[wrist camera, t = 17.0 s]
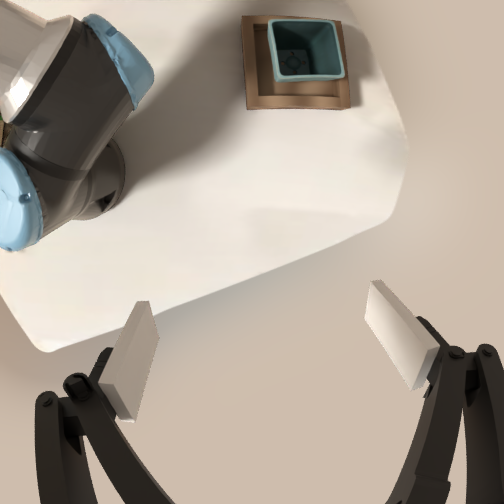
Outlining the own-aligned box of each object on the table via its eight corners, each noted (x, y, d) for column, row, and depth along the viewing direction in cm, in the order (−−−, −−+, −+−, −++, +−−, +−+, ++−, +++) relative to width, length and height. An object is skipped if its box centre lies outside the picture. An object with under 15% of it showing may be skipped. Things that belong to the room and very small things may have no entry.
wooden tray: (246, 110, 39) (248, 106, 36) (241, 25, 34) (241, 15, 30) (340, 110, 40) (350, 107, 36) (332, 29, 34) (340, 21, 31)
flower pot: (324, 88, 38) (346, 77, 29) (268, 91, 37) (278, 79, 29) (316, 39, 34) (334, 19, 26) (260, 41, 34) (267, 18, 26)
